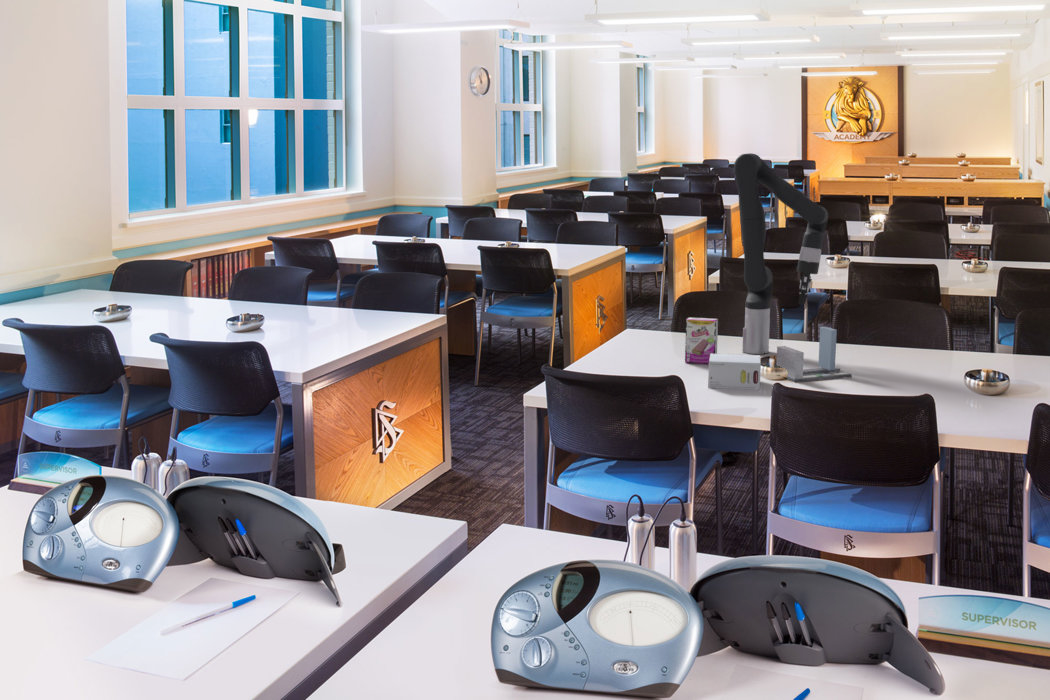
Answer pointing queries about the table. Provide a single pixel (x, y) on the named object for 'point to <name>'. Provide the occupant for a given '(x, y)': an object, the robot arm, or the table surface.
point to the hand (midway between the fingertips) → (801, 303)
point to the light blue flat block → (827, 348)
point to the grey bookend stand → (794, 367)
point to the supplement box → (734, 371)
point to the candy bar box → (700, 339)
